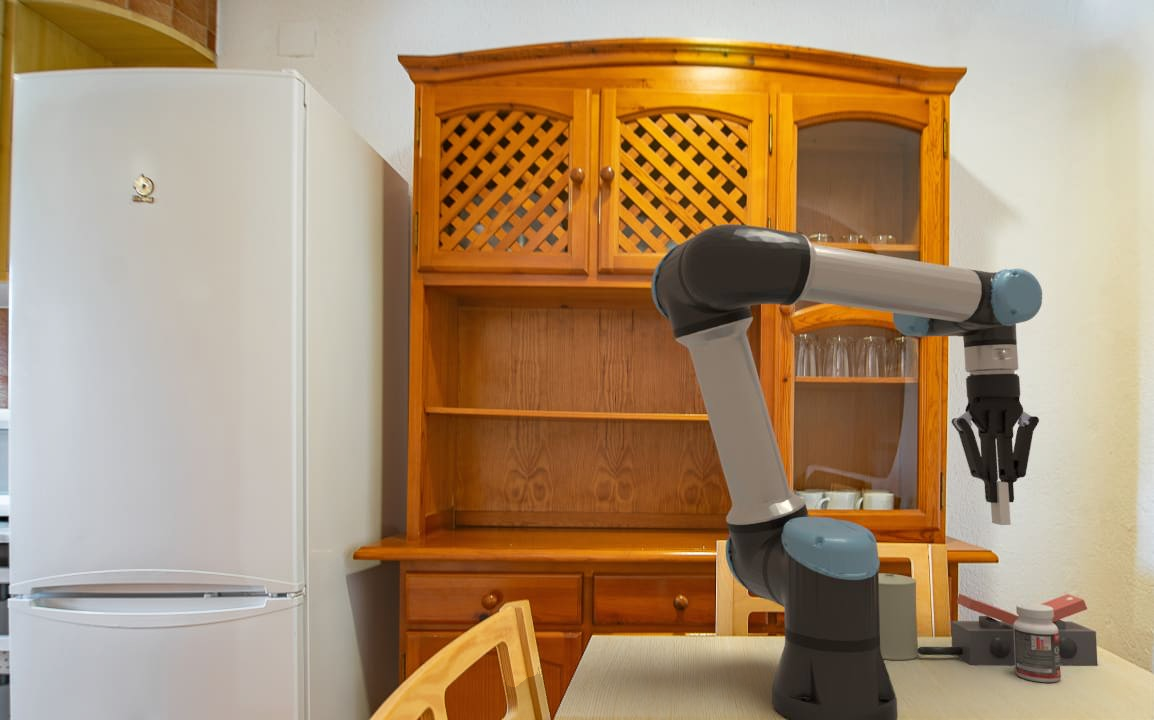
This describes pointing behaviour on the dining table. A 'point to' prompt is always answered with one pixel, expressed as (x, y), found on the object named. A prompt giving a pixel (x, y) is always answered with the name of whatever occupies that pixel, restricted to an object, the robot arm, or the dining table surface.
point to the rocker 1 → (987, 609)
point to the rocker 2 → (1066, 606)
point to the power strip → (1012, 643)
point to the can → (897, 617)
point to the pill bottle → (1036, 643)
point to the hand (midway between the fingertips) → (1001, 523)
